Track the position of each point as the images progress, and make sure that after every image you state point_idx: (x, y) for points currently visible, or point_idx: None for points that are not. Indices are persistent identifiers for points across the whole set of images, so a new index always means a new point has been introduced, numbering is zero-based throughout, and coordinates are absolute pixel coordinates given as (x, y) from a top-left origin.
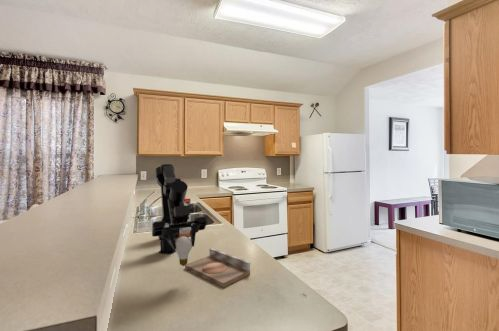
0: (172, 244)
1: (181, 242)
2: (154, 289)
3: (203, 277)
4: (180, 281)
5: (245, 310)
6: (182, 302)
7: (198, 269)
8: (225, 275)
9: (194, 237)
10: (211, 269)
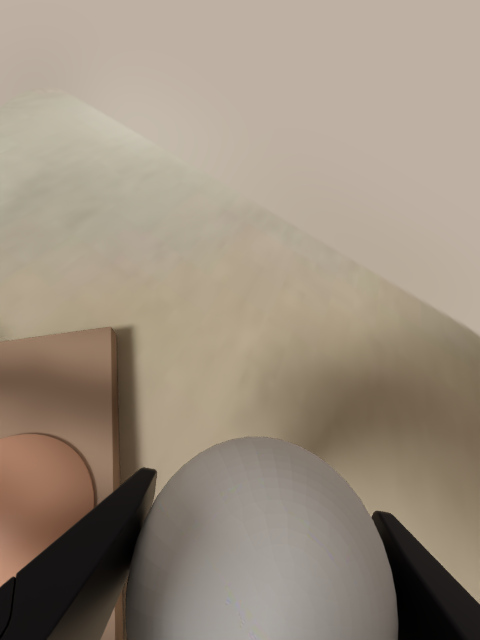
0: (440, 565)
1: (328, 479)
2: None
3: None
4: None
5: (158, 204)
6: (295, 341)
7: None
8: (43, 384)
9: (64, 543)
10: (38, 510)
